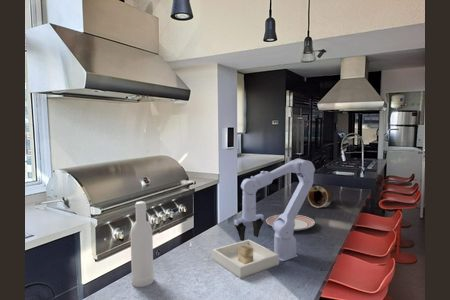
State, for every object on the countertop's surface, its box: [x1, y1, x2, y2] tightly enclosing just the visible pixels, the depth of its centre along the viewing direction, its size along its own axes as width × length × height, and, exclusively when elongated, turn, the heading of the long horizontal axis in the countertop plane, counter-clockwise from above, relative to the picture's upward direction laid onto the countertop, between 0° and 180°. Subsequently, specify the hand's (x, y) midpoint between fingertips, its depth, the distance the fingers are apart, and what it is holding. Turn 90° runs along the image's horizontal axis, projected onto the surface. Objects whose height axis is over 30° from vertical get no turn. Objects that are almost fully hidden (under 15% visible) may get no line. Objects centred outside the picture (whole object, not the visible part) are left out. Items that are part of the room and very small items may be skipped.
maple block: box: [238, 244, 253, 265], centre depth 126 cm, size 4×4×6 cm
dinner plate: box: [265, 214, 316, 232], centre depth 173 cm, size 28×27×3 cm
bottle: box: [129, 200, 155, 288], centre depth 110 cm, size 8×8×30 cm
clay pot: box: [307, 185, 334, 209], centre depth 219 cm, size 15×15×25 cm
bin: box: [211, 239, 280, 280], centre depth 127 cm, size 20×20×4 cm
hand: (249, 238), depth 129 cm, fingers open, 7 cm apart
